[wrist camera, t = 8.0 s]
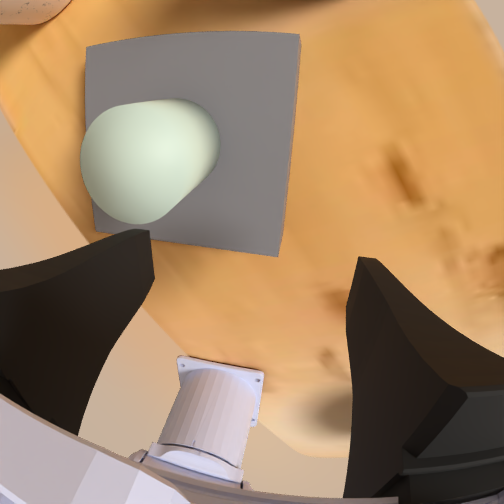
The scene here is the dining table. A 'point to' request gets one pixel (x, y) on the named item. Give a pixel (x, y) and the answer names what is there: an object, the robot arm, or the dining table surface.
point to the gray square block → (228, 123)
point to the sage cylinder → (148, 157)
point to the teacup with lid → (29, 11)
